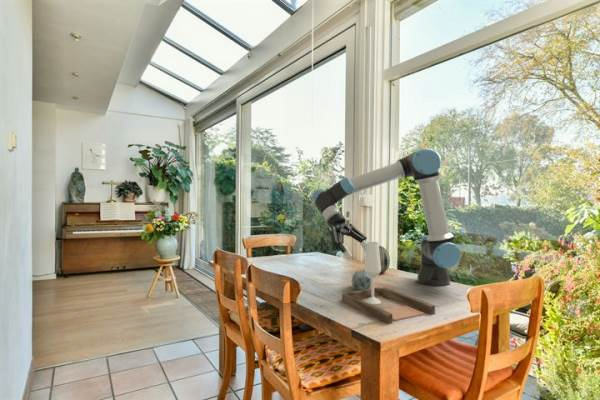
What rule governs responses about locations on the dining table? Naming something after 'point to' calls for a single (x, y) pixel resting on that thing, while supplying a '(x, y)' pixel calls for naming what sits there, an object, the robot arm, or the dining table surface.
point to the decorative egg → (384, 259)
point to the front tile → (403, 312)
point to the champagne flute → (372, 267)
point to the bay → (376, 312)
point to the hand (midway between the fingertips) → (360, 255)
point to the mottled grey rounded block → (361, 280)
